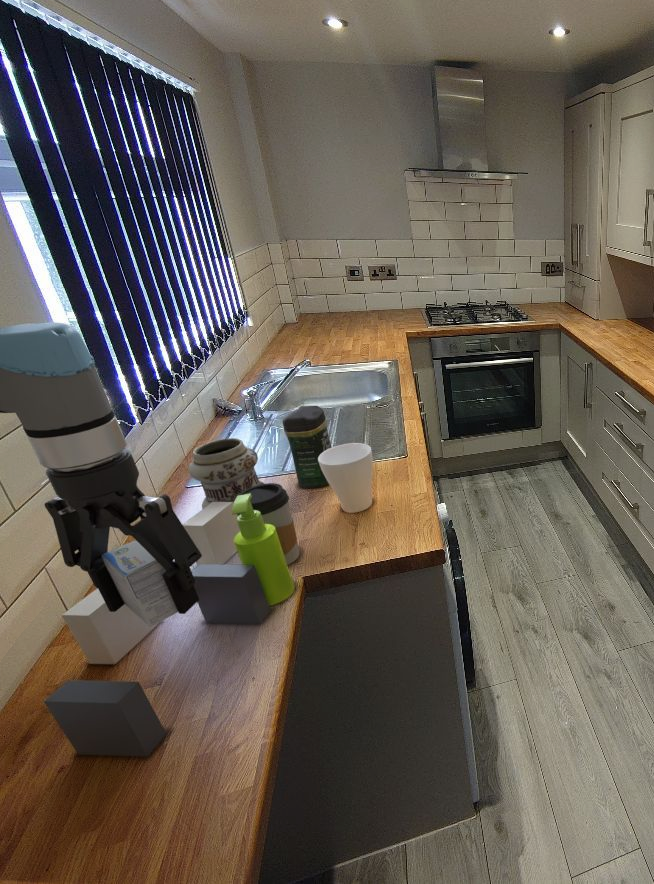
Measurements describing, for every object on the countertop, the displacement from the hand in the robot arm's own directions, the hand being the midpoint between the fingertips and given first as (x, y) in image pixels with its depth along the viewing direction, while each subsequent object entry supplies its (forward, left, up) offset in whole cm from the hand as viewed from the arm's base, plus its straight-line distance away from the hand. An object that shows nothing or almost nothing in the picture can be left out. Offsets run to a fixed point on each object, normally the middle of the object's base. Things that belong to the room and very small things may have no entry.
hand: (155, 605), depth 71 cm
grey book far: (0, +11, -13) cm, 17 cm away
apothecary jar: (-18, +39, -13) cm, 45 cm away
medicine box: (0, 0, 0) cm, 0 cm away
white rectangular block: (-14, +5, -13) cm, 19 cm away
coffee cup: (-2, +26, -13) cm, 29 cm away
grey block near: (0, -11, -13) cm, 17 cm away
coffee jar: (-11, +57, -13) cm, 59 cm away
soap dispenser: (+3, +16, -13) cm, 21 cm away
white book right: (-14, +27, -13) cm, 33 cm away
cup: (+4, +45, -13) cm, 47 cm away
